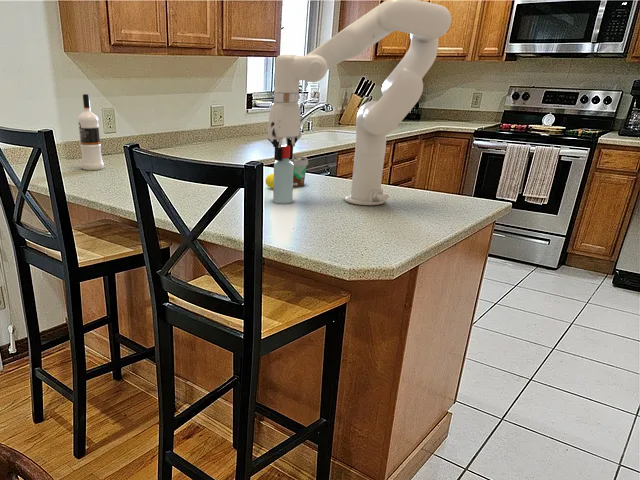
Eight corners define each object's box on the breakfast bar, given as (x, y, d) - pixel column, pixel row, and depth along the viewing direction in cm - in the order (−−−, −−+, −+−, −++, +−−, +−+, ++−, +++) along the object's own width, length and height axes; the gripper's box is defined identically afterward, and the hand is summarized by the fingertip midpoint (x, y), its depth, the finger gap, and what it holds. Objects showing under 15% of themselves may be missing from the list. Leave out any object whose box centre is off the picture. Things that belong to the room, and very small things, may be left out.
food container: (305, 189, 193) (307, 161, 189) (288, 188, 194) (290, 160, 190) (308, 182, 204) (310, 156, 200) (292, 181, 205) (293, 155, 201)
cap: (284, 155, 171) (284, 144, 170) (292, 157, 168) (292, 145, 167) (275, 156, 169) (275, 145, 168) (283, 158, 166) (283, 146, 165)
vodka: (105, 169, 224) (98, 94, 212) (83, 171, 220) (75, 94, 208) (102, 166, 231) (95, 93, 219) (80, 167, 228) (72, 93, 216)
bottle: (296, 201, 174) (298, 147, 167) (281, 204, 170) (283, 149, 163) (283, 198, 178) (285, 145, 171) (269, 201, 175) (270, 147, 168)
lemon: (262, 187, 195) (262, 172, 192) (274, 186, 197) (274, 171, 195) (272, 191, 189) (272, 176, 187) (284, 189, 191) (285, 174, 189)
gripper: (297, 97, 169) (294, 156, 176) (257, 99, 160) (256, 160, 167) (314, 99, 163) (310, 159, 171) (273, 100, 154) (271, 163, 162)
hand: (283, 159), depth 169 cm, fingers closed on cap, 3 cm apart
